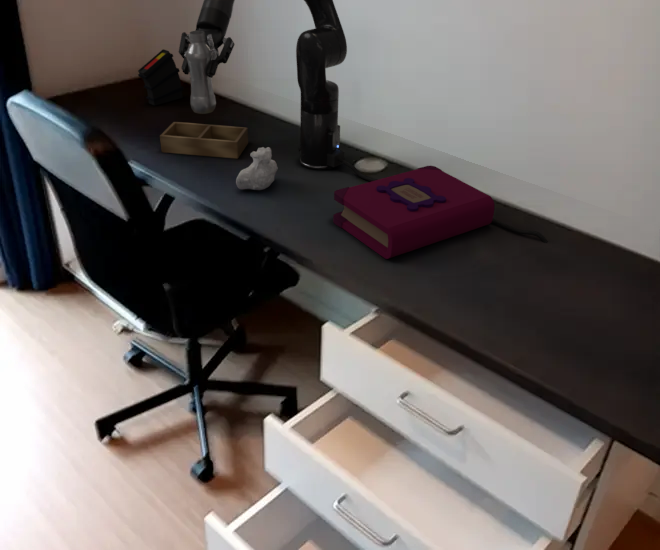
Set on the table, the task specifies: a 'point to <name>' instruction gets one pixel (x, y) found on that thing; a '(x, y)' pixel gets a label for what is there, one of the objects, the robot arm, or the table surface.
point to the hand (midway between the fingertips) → (197, 74)
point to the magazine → (161, 79)
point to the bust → (258, 171)
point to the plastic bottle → (200, 74)
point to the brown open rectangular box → (204, 140)
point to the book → (411, 210)
